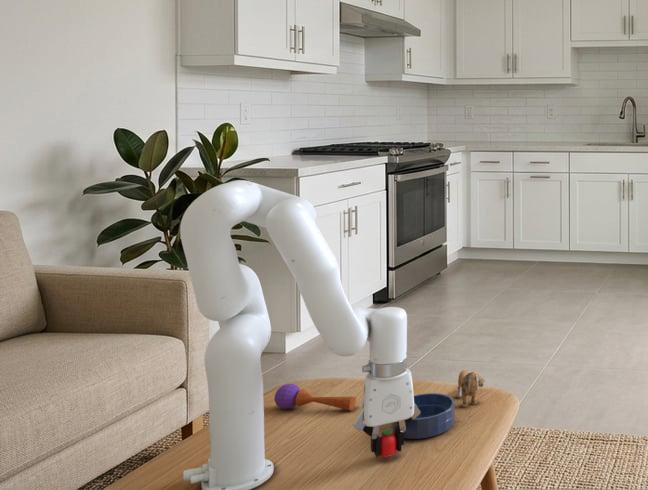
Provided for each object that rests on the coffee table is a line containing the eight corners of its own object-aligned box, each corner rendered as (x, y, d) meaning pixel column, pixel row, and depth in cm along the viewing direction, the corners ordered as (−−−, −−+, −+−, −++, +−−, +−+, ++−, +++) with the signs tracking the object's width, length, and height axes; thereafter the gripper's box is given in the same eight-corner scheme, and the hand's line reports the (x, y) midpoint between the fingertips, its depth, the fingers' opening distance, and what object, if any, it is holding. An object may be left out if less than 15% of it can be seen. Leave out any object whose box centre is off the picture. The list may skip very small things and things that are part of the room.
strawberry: (380, 458, 140) (380, 436, 140) (376, 450, 143) (376, 429, 143) (398, 453, 142) (398, 432, 142) (394, 446, 145) (394, 425, 145)
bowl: (400, 447, 147) (400, 425, 147) (385, 422, 159) (385, 402, 159) (463, 430, 155) (462, 409, 155) (443, 408, 167) (443, 388, 167)
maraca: (346, 400, 162) (268, 391, 164) (347, 421, 164) (270, 412, 165) (358, 386, 168) (283, 377, 170) (358, 406, 170) (284, 398, 171)
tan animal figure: (487, 407, 167) (487, 372, 167) (467, 413, 164) (466, 377, 164) (467, 388, 179) (466, 355, 179) (447, 392, 176) (447, 359, 176)
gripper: (350, 380, 135) (349, 470, 135) (432, 365, 144) (431, 449, 144) (343, 368, 141) (342, 454, 141) (422, 354, 150) (421, 435, 150)
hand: (387, 450), depth 143 cm, fingers closed on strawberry, 3 cm apart
